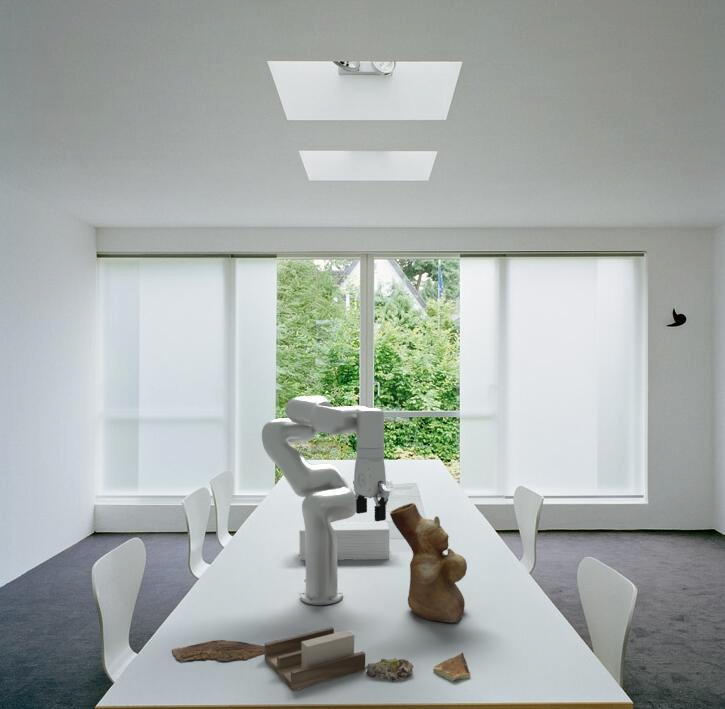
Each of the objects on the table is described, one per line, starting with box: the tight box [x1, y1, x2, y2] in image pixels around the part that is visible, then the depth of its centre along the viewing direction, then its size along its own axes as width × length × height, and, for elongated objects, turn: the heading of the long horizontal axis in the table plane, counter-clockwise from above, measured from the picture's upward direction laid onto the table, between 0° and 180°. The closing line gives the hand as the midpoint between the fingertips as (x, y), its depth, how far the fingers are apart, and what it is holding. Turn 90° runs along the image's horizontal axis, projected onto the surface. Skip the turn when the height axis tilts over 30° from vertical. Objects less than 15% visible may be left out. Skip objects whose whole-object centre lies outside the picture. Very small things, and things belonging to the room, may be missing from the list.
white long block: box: [299, 521, 390, 561], centre depth 229 cm, size 32×11×11 cm, turn 92°
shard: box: [432, 652, 471, 682], centre depth 143 cm, size 11×8×2 cm
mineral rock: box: [365, 658, 414, 682], centre depth 142 cm, size 11×4×8 cm
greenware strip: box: [301, 629, 355, 668], centre depth 144 cm, size 3×12×6 cm, turn 120°
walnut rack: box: [264, 626, 366, 691], centre depth 146 cm, size 17×18×4 cm
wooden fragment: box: [171, 639, 265, 663], centre depth 153 cm, size 26×11×1 cm, turn 90°
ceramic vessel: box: [389, 502, 468, 623], centre depth 177 cm, size 16×22×30 cm
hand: (370, 516), depth 171 cm, fingers open, 9 cm apart
